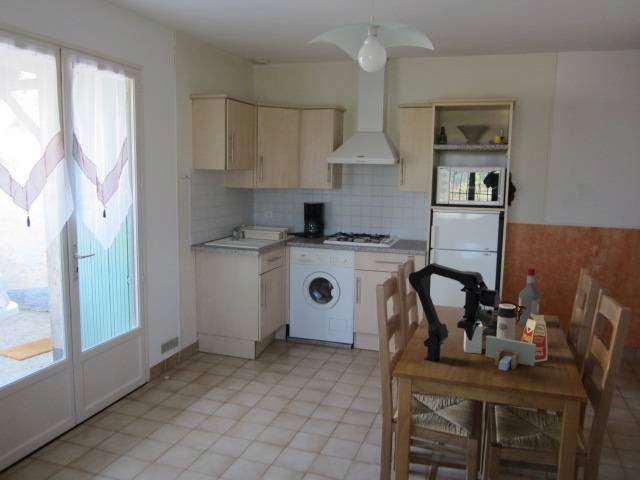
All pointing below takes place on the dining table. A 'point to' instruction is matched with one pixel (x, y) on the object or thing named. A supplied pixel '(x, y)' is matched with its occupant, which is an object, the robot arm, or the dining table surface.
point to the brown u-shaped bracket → (502, 353)
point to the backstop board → (511, 349)
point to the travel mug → (506, 321)
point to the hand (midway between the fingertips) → (470, 340)
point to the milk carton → (536, 336)
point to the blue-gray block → (505, 363)
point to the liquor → (529, 299)
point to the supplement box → (474, 341)
